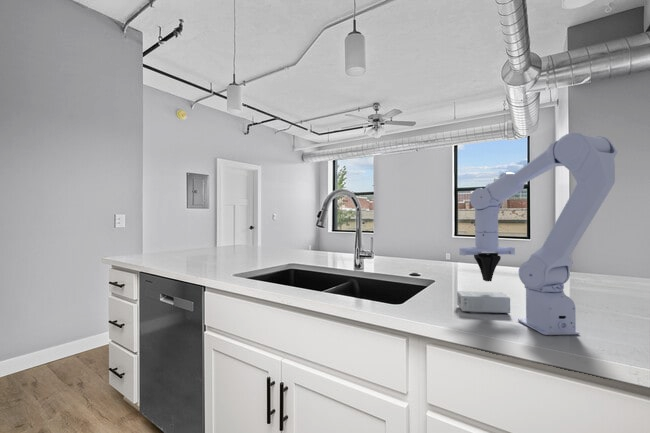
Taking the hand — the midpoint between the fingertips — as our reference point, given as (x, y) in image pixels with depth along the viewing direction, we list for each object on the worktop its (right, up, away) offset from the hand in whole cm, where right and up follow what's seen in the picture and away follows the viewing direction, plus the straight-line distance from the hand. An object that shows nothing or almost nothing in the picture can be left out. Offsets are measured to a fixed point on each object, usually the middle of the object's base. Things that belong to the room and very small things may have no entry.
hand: (487, 280), depth 87 cm
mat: (-1, -8, 0) cm, 8 cm away
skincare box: (-8, -6, 0) cm, 10 cm away
